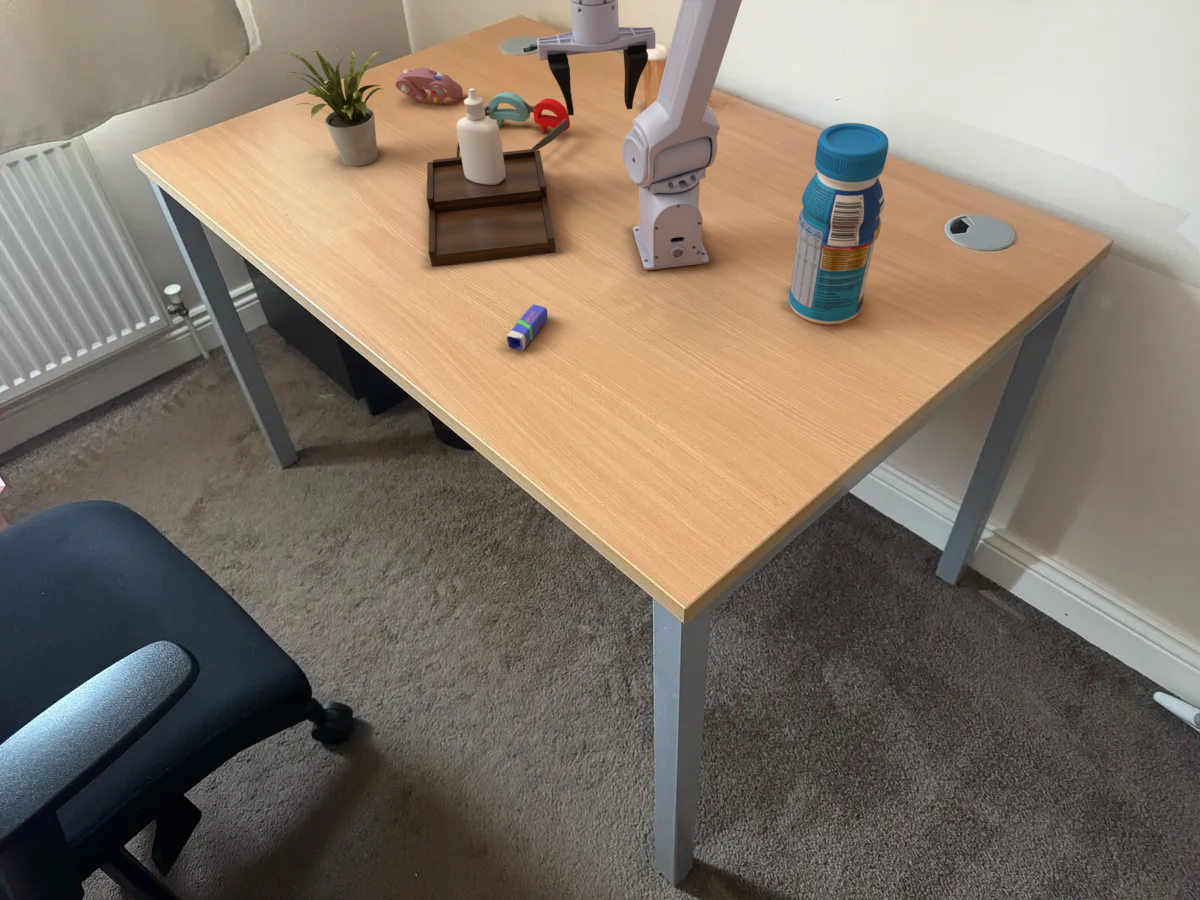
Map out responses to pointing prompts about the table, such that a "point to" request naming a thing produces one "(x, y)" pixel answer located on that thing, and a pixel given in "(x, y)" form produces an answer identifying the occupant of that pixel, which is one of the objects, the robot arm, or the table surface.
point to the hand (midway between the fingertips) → (599, 109)
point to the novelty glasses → (523, 114)
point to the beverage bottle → (839, 224)
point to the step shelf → (488, 211)
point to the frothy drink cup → (654, 72)
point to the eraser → (527, 327)
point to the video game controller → (428, 85)
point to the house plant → (346, 111)
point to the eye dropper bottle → (480, 144)
